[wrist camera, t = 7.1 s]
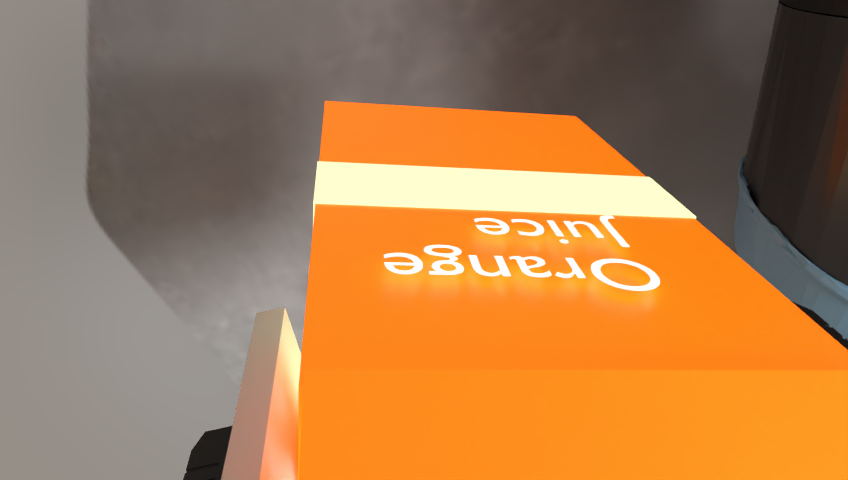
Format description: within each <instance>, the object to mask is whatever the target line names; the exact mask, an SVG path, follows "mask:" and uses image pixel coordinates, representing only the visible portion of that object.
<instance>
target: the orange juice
mask: <svg viewBox="0 0 848 480" xmlns="http://www.w3.org/2000/svg"><path fill="white" fill-rule="evenodd" d="M298 480H848V350H847V349H846V348H845V347H843V346H842V345H841V344H840V343H839V342H838V341H836V340H835V339H834V338H833V337H832V336H831V335H829V334H828V333H827V332H826V331H825V330H824V329H822V328H821V327H820V326H819V325H818V324H817V323H816V322H814V321H813V320H812V319H811V318H810V317H809V316H807V315H806V314H805V313H804V312H803V311H802V310H800V309H799V308H798V307H797V306H796V305H795V304H793V303H792V302H791V301H790V300H789V299H788V298H786V297H785V296H784V295H783V294H782V293H781V292H780V291H778V290H777V289H776V288H775V287H774V286H773V285H771V284H770V283H769V282H768V281H767V280H766V279H764V278H763V277H762V276H761V275H760V274H759V273H757V272H756V271H755V270H754V269H753V268H752V267H750V266H749V265H748V264H747V263H746V262H745V261H744V260H742V259H741V258H740V257H739V256H738V255H737V254H735V253H734V252H733V251H732V250H731V249H730V248H728V247H727V246H726V245H725V244H724V243H723V242H721V241H720V240H719V239H718V238H717V237H716V236H714V235H713V234H712V233H711V232H710V231H709V230H707V229H706V228H705V227H704V226H703V225H702V224H701V223H699V222H698V221H697V220H696V216H695V215H694V214H693V213H691V212H690V211H689V210H688V209H687V208H686V207H684V206H683V205H682V204H681V203H680V202H679V201H677V200H676V199H675V198H674V197H673V196H671V195H670V194H669V193H668V192H667V191H666V190H664V189H663V188H662V187H661V186H660V185H659V184H657V183H656V182H655V181H654V180H653V179H652V178H650V177H646V176H645V175H644V174H642V173H641V172H640V171H639V170H638V169H637V168H635V167H634V166H633V165H632V164H631V163H630V162H629V161H627V160H626V159H625V158H624V157H623V156H622V155H620V154H619V153H618V152H617V151H616V150H615V149H613V148H612V147H611V146H610V145H609V144H608V143H606V142H605V141H604V140H603V139H602V138H601V137H599V136H598V135H597V134H596V133H595V132H594V131H593V130H591V129H590V128H589V127H588V126H587V125H586V124H584V123H583V122H582V121H581V120H580V119H579V118H577V117H576V116H567V115H550V114H534V113H517V112H501V111H484V110H468V109H451V108H435V107H418V106H402V105H385V104H369V103H352V102H336V101H325V106H324V116H323V127H322V138H321V149H320V160H319V161H317V171H316V181H315V191H314V201H313V235H312V246H311V257H310V268H309V278H308V289H307V300H306V311H305V322H304V332H303V343H302V354H301V365H300V375H299V386H298Z"/></svg>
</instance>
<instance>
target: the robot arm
mask: <svg viewBox="0 0 848 480" xmlns="http://www.w3.org/2000/svg"><path fill="white" fill-rule="evenodd" d="M738 182H739V188H740V191H739V198H738V205H737V212H736V219H735V226H734V242H735V247H736V251H737V254H738V256H739V257H740V258H741V259H742V260H744V261H745V262H746V263H747V264H748V265H749V266H750V267H752V268H753V269H754V270H755V271H756V272H757V273H759V274H760V275H761V276H762V277H763V278H764V279H766V280H767V281H768V282H769V283H770V284H771V285H773V286H774V287H775V288H776V289H777V290H778V291H780V292H781V293H782V294H783V295H784V296H785V297H786V298H788V299H789V300H790V301H791V302H792V303H793V304H795V305H796V306H797V307H798V308H799V309H800V310H802V311H803V312H804V313H805V314H806V315H807V316H809V317H810V318H811V319H812V320H813V321H814V322H816V323H817V324H818V325H819V326H820V327H821V328H822V329H824V330H825V331H826V332H827V333H828V334H829V335H831V336H832V337H833V338H834V339H835V340H836V341H838V342H839V343H840V344H841V345H842V346H843V347H845V348H846V349H847V350H848V0H779V2H778V7H777V12H776V16H775V21H774V26H773V31H772V35H771V40H770V45H769V50H768V54H767V59H766V64H765V69H764V73H763V78H762V83H761V88H760V92H759V97H758V102H757V107H756V111H755V116H754V121H753V126H752V130H751V135H750V140H749V145H748V149H747V154H746V156H745V157H744V158H742V160H741V163H740V165H739V169H738ZM300 365H301V353H300V350H299V347H298V344H297V341H296V338H295V335H294V332H293V329H292V327H291V324H290V321H289V318H288V315H287V312H286V309H285V307H283V308H278V309H274V310H269V311H265V312H260V313H257V314H256V319H255V324H254V328H253V333H252V338H251V342H250V347H249V351H248V356H247V361H246V365H245V370H244V375H243V379H242V384H241V389H240V393H239V398H238V403H237V408H236V412H235V417H234V422H233V426H230V427H225V428H221V429H216V430H212V431H207V432H205V433H204V434H203V436H202V437H201V438H200V440H199V441H198V442H197V444H196V445H195V447H194V448H193V449H192V451H191V454H190V458H189V461H188V465H187V468H186V471H187V473H185V476H184V479H183V480H298V386H299V375H300Z"/></svg>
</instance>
